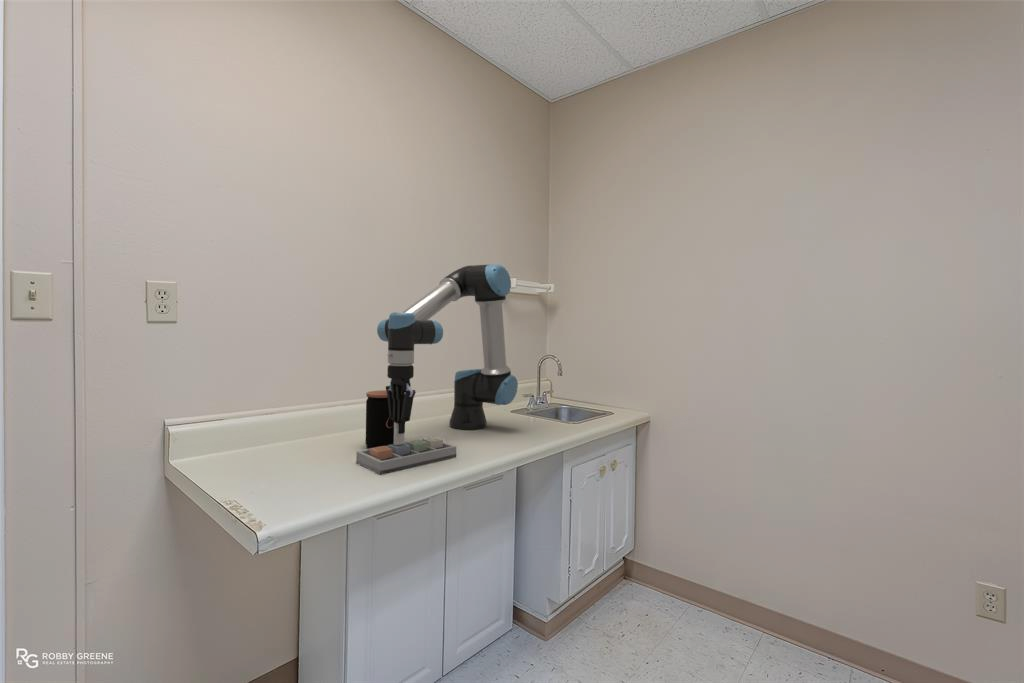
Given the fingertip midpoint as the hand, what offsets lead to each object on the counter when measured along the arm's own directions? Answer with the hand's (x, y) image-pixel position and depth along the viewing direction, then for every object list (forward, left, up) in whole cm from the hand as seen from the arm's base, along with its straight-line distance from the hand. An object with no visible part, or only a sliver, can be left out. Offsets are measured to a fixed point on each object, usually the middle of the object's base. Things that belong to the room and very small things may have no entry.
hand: (398, 443), depth 136 cm
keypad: (-3, 0, -6) cm, 6 cm away
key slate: (0, 0, -3) cm, 3 cm away
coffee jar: (-5, -19, -6) cm, 21 cm away
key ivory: (-12, 0, -3) cm, 13 cm away
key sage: (-6, 0, -3) cm, 7 cm away
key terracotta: (+6, 0, -3) cm, 6 cm away
